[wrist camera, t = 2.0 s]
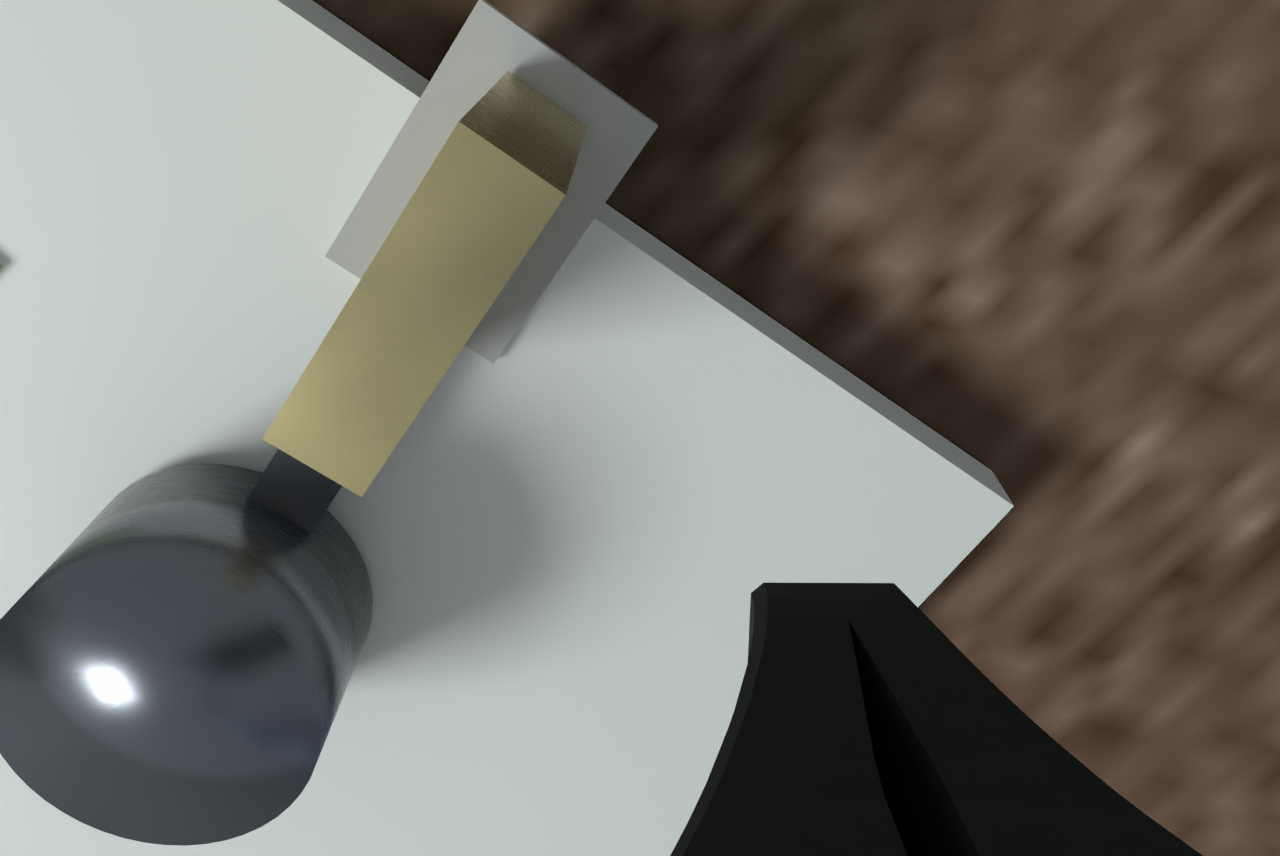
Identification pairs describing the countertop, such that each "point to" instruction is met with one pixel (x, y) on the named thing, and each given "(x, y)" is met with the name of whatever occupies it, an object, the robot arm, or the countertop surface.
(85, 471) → the dial board
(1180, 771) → the countertop surface
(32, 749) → the grey and tan piece
